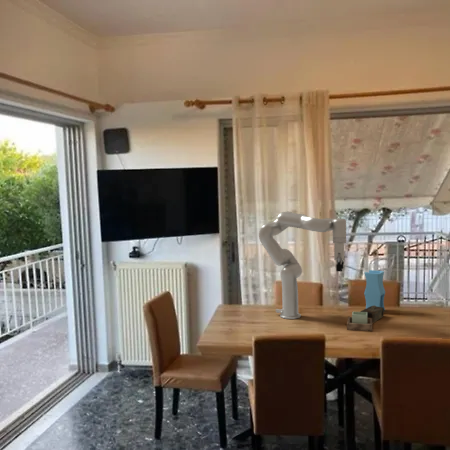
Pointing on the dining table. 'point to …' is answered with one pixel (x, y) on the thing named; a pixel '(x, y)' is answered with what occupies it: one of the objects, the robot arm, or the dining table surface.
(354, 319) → the small crate
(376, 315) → the beverage carton
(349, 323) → the walnut crate
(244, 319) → the dining table surface
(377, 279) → the vase
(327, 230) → the robot arm
